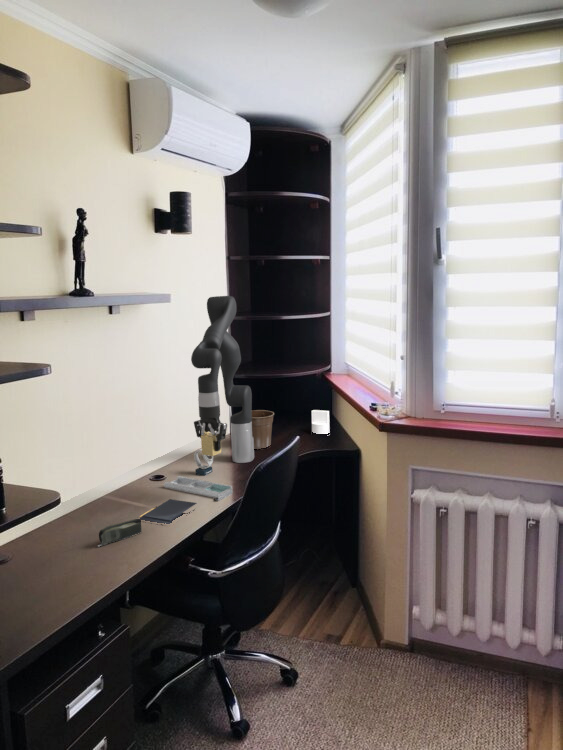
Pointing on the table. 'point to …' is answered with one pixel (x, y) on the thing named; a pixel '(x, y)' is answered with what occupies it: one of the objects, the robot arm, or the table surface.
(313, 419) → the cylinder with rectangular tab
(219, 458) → the table surface
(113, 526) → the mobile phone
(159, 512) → the dark blue notebook
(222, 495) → the tray with compartments
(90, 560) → the table surface
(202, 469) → the watch
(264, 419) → the plant pot
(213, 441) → the tan block
